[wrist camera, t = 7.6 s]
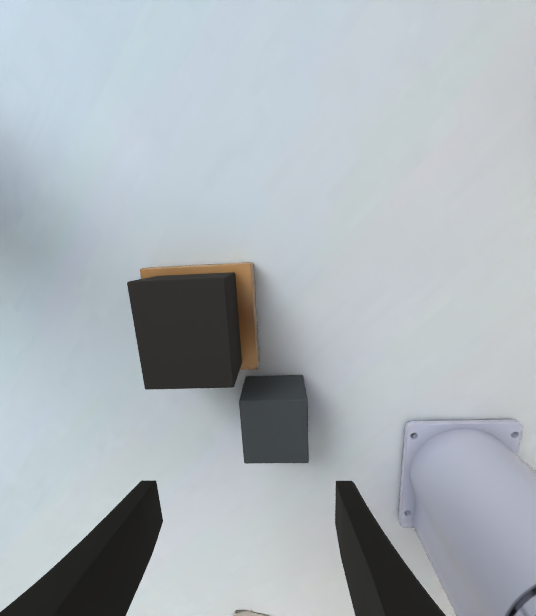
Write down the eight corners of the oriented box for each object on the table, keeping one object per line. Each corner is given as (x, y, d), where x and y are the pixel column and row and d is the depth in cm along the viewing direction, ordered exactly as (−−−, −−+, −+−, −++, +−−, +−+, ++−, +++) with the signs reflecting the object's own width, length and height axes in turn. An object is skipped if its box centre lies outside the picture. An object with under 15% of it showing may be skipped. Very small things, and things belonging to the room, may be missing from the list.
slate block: (304, 429, 20) (308, 463, 17) (249, 430, 20) (244, 464, 17) (302, 374, 19) (307, 399, 16) (245, 376, 19) (238, 400, 16)
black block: (242, 362, 17) (234, 387, 14) (168, 364, 17) (144, 390, 14) (235, 272, 16) (224, 277, 13) (156, 275, 16) (126, 281, 13)
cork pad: (259, 360, 19) (257, 369, 17) (164, 362, 19) (155, 372, 18) (253, 262, 17) (250, 263, 16) (150, 267, 17) (139, 268, 16)
